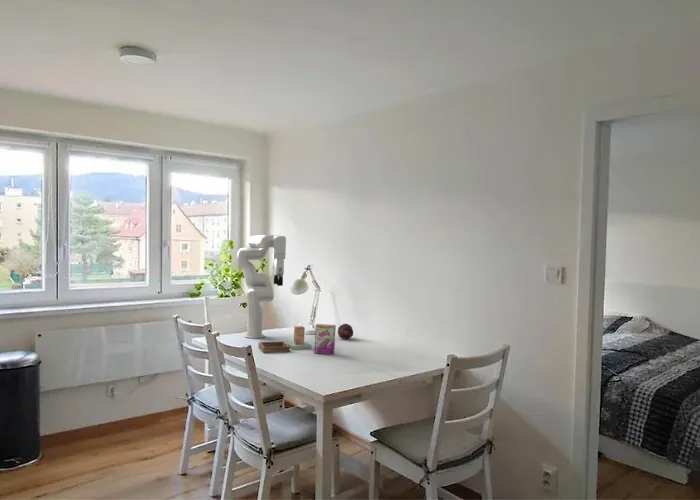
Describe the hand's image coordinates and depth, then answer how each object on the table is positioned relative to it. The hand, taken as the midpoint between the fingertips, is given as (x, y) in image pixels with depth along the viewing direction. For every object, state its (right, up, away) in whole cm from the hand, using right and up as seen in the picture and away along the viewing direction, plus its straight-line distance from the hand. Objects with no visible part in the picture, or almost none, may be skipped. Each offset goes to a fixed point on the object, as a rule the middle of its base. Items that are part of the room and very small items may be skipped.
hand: (278, 284), depth 314 cm
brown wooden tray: (-1, -37, -12) cm, 38 cm away
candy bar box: (+29, -38, -17) cm, 50 cm away
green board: (+13, -37, -2) cm, 39 cm away
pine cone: (+40, -37, +28) cm, 61 cm away
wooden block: (+13, -35, -2) cm, 37 cm away
